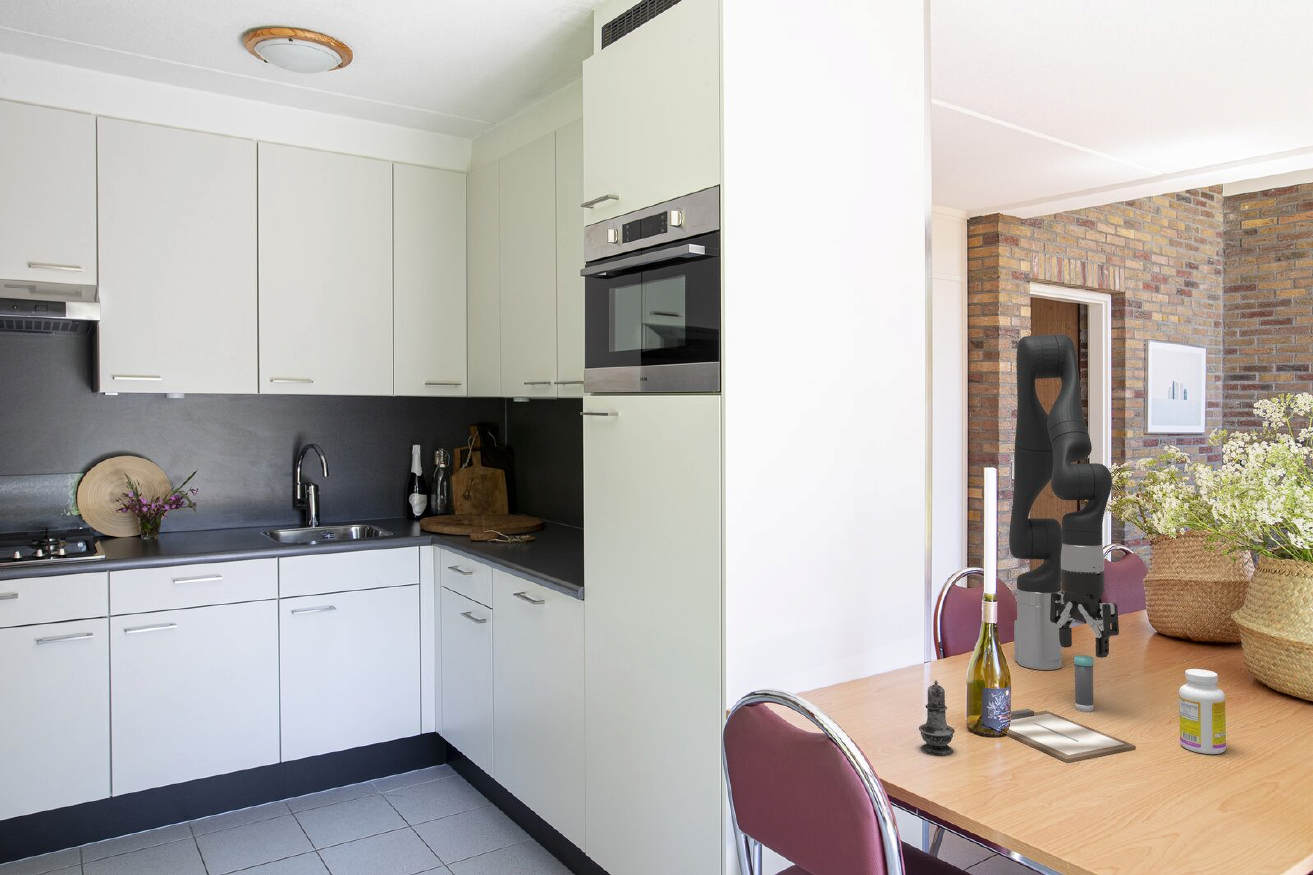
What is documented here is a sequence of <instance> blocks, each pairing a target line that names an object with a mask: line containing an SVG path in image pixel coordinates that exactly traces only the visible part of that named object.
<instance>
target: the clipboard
mask: <svg viewBox="0 0 1313 875" xmlns="http://www.w3.org/2000/svg"><path fill="white" fill-rule="evenodd" d="M1006 734H1007V736H1006V737H1009V738H1011V739H1013V740H1015V741H1018V742H1020V743H1022V744H1023V745H1027V746H1029V747H1031V748H1033V749H1036V750H1038V751H1039V752H1042V753H1043V754H1047V755H1049V756H1051V757H1053V758H1055V759H1057V760H1060V761H1062V760H1063V761H1062V762H1065V763H1066V764H1067V763H1072V762H1073V761H1074V762H1077V761H1076V760H1079V761H1082V760H1083V761H1084V760H1088V758H1089V759H1093V758H1099V757H1103V756H1102V755H1104V756H1108V755H1113V754H1118V753H1119V754H1120V753H1125V752H1129V751H1133V750H1134V751H1135V750H1136V748H1137V746H1136V745H1135V744H1132V743H1130V742H1127V741H1125V740H1122V739H1120V738H1117V737H1115V736H1112V735H1109V734H1107V733H1105V732H1102V731H1099V730H1096V729H1095V728H1093V727H1092V728H1091V727H1089V726H1087V725H1084V724H1082V723H1079V722H1076V721H1074V720H1071V719H1069V718H1066V717H1063V716H1061V715H1058V714H1055V713H1053V712H1051V711H1049V710H1040V711H1039V710H1038V711H1034V710H1032V709H1030V708H1024V709H1023V708H1022V709H1017V710H1011V722H1010V727H1009V730H1008V731H1007V733H1006ZM1074 762H1073V763H1074Z"/></svg>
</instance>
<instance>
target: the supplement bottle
mask: <svg viewBox="0 0 1313 875" xmlns="http://www.w3.org/2000/svg"><path fill="white" fill-rule="evenodd" d="M1184 675H1185V676H1184V678H1185V680H1186V683H1185V684H1183V685H1181V686H1180V688H1179V690H1178V705H1179V706H1178V707H1179V714H1178V716H1179V741H1180V744H1181V746H1182V747H1183V748H1185V750H1188V751H1191V752H1194V753H1199V754H1204V755H1205V754H1206V755H1207V754H1208V755H1218V754H1222V753H1224V752H1225V751H1226V748H1227V728H1226V722H1227V721H1226V695H1225V692H1224V691H1223V690H1222V689H1220V688H1219V687H1217V684H1218V681H1219V676H1218V673H1216V672H1215V671H1213V670H1208V669H1201V668H1200V669H1199V668H1188V669H1186V670H1185V672H1184Z"/></svg>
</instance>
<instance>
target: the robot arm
mask: <svg viewBox="0 0 1313 875" xmlns="http://www.w3.org/2000/svg"><path fill="white" fill-rule="evenodd" d="M1015 363H1016V396H1017V397H1016V399H1017V400H1016V401H1017V402H1016V403H1017V404H1016V405H1017V406H1016V407H1017V408H1016V425H1015V426H1016V427H1015V437H1014V438H1015V439H1014V453H1013V456H1014V459H1013V460H1014V462H1013V464H1014V465H1013V466H1014V467H1013V468H1014V469H1013V470H1014V471H1013V472H1014V473H1013V495H1012V496H1013V497H1012V503H1011V504H1012V507H1011V512H1010V514H1011V515H1010V522H1009V532H1008V544H1009V546H1008V547H1009V551H1010V553H1011V556H1012V557H1013V558H1015V559H1018V560H1043V561H1042V564H1040V565H1039V566H1038V567H1036V568H1035V569H1033V570H1030V571H1026V572H1024V573H1021V574H1019V575H1018V576H1017V577H1016V578H1017V579H1016V603H1017V604H1016V606H1017V608H1016V611H1017V612H1016V613H1017V614H1016V616H1017V619H1015V620H1014V621H1013V625H1014V626H1013V628H1014V629H1013V631H1014V632H1013V633H1014V634H1013V635H1014V636H1013V639H1014V640H1013V643H1014V644H1013V646H1014V662H1017V664H1018V665H1019V666H1022V667H1024V668H1027V669H1033V670H1039V671H1040V670H1043V671H1052V670H1058V669H1061V668H1062V666H1063V658H1062V657H1063V654H1062V653H1063V650H1062V648H1065V649H1066V648H1071V647H1072V646H1073V632H1072V631H1073V629H1072V627H1071V626H1072V625H1073V623H1074V622H1075V621H1076V620H1077V621H1078V620H1079V621H1082V622H1084V623H1086V624H1087V625H1088V627H1090V628H1091V629H1092V630H1093V632H1094V634H1095V636H1096V637H1095V657H1097V658H1100V659H1101V658H1102V659H1103V658H1107V657H1108V656H1109V653H1110V643H1109V642H1110V638H1111V637H1114V636H1118V635H1120V629H1119V628H1120V626H1119V624H1120V623H1119V614H1118V613H1119V612H1118V604H1117V603H1116V602H1108V603H1107V602H1104V601H1103V599H1102V596H1103V594H1104V593H1105V592H1106V591H1105V586H1106V585H1105V554H1104V549H1103V548H1104V547H1103V523H1104V516H1105V512H1106V508H1107V506H1108V501H1109V498H1110V495H1111V491H1112V487H1113V477H1112V473H1111V471H1110V469H1109V468H1108V467H1107V466H1105V465H1104V464H1102V463H1093V462H1091V463H1089V462H1088V463H1076V462H1079V461H1083V460H1084V459H1086V458H1088V457H1089V456H1090V455H1091V453H1092V450H1093V448H1092V447H1093V446H1092V445H1093V444H1092V441H1091V437H1090V435H1089V431H1088V428H1087V424H1086V423H1087V422H1086V420H1085V416H1084V411H1083V410H1084V409H1083V404H1082V393H1081V383H1080V374H1079V364H1078V357H1077V351H1076V347H1075V344H1074V341H1073V340H1072V338H1071V336H1069V335H1067V334H1061V333H1058V334H1057V333H1056V334H1040V335H1039V334H1038V335H1027V336H1023V337H1021V338H1020V339H1019V341H1018V343H1017V348H1016V362H1015ZM1036 379H1037V380H1039V379H1040V380H1042V379H1044V380H1045V379H1060V380H1061V381H1060V382H1061V387H1060V391H1059V393H1058V395H1057V397H1056V400H1055V401H1054V403H1053V404H1052V406H1051V409H1050V410H1049V413H1047V412H1046V410H1045V409H1044V406H1042V403H1041V401H1040V400H1039V397H1038V395H1037V391H1036V390H1037V389H1036ZM1049 482H1050V487H1051V491H1052V493H1053V494H1054V495H1055V496H1056V498H1058V499H1060V500H1061V501H1087V503H1086V504H1085V506H1084V508H1082V509H1080V510H1077V511H1073V512H1069V513H1065V514H1064V515H1063V516H1062V518H1061V523H1060V522H1059V521H1058V520H1057V519H1055V518H1049V517H1048V518H1046V517H1045V518H1039V517H1037V518H1030V517H1029V516H1030V512H1031V509H1032V507H1033V505H1034V503H1035V501H1036V499H1037V497H1038V496H1039V495H1040V493H1041V492H1042V491H1043V490H1044V489H1045V488H1046V486H1047V485H1048V484H1049Z"/></svg>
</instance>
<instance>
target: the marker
mask: <svg viewBox="0 0 1313 875" xmlns="http://www.w3.org/2000/svg"><path fill="white" fill-rule="evenodd" d="M1094 661H1095V658H1094V657H1093V656H1091V655H1085V654H1083V655H1082V654H1079V655H1074V656H1073V663H1074V709H1075V710H1076V711H1078V710H1080V711H1079V712H1082V711H1085V713H1089V712H1090V713H1091V711H1092V712H1094V711H1093V710H1094V708H1095V707H1094V664H1095V663H1094Z"/></svg>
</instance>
